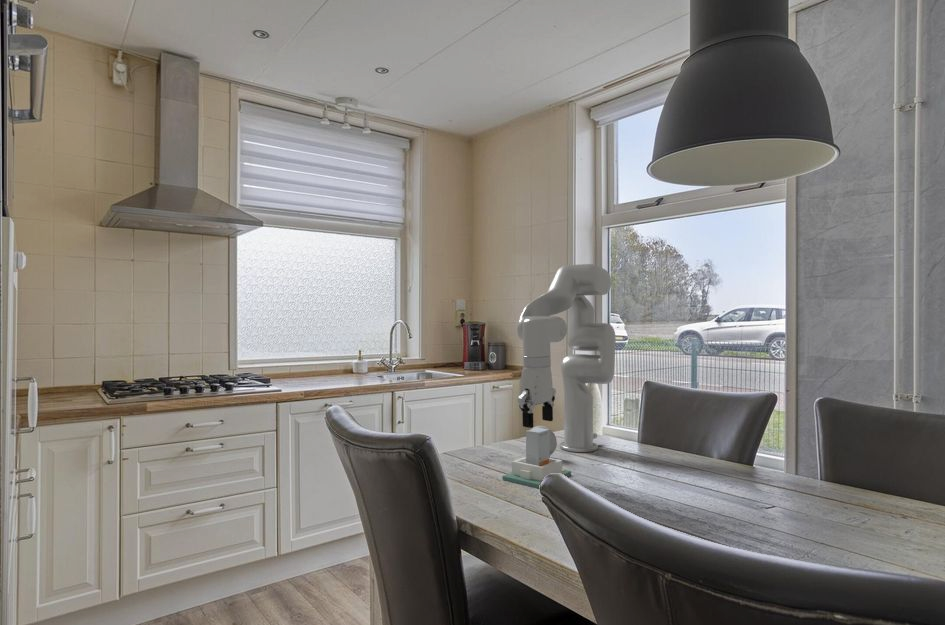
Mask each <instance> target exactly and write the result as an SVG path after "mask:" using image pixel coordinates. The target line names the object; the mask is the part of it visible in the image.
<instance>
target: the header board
mask: <svg viewBox="0 0 945 625" xmlns="http://www.w3.org/2000/svg"><path fill="white" fill-rule="evenodd" d="M550 473H562V474H564V475H565V476H567V477H569V476H571V475H572V470H567V469H564V468H563V459H558V458H553V457H549V464H547V465H544V466H537V465H532V464H527V463H526V456H524V457H521V458H518V459H515V460H512V461H511V472H509V473H507V474H504V475H502V479H503V481H506V480H507V482H510V481H511V483H514V482H515V484H519V485H522V486H527V485H528V487H532V488H535V489H536V488H537V489H540V488H539V485H540V484H541V482H542V481H543V479H544V477H545V476H546V475H548V474H550ZM568 475H569V476H568Z"/></svg>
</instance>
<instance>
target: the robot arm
mask: <svg viewBox="0 0 945 625" xmlns="http://www.w3.org/2000/svg"><path fill="white" fill-rule="evenodd" d="M554 275H555V276H554V277H553V279H552V281H551V283H550V286H549V287H548V290H547V292H545V293H543V294H541V295H540V296H538V297H536V298H534V299H533V300H532V301H531V302H529V303H527V305H526V306H525V307H524V309H523V310H522V313H521V314H520V316H519V319H518V322H517V326H516V332H517V336H518V337H519V339H520V340H521V341H522V355H523V358H522V359H523V362H522V363H523V367H522V370H521V376H520V390H519V396H518V398H517V402H518V405H519V409H520V412H521V413H522V427H523V428H528V429H529V428H530V429H532V428H534V413H533V410H534V407H535V406H537V405H541V406H542V407H541V409H542V410H541V411H542V414H541V416H542V418H541V419H542V420H543V421H547V422H553V421H554V413H553V412H554V410H553V407H554V406H555V404H554V402H555V400H556V398H555V396H556V393H557V390H556V388H554V387H553V376H552V370H551V369H552V368H551V366H552V365H551V364H552V363H551V362H552V359H551V343H560V342H561V341H562V340H564V339H565V337H566V336H567V344H568V346H569V348H570V349H571V350H575V351H579V352H580V351H581V352H583V351H585V352H599V354H585V353H584V354H581V353H580V354H578V353H577V354H576V353H575V354H568V355H566V356H565V357H563V358H562V359H561V360H562V361H561V363H560V369H561V370H560V372H561V376H562V382H563V416H564V417H563V426H564V427H563V428H564V431H563V437H564V438H563V439H564V441H561V442H560V443H559V448H560V449H561V450H563V451H567V452H573V453H574V452H575V453H590V452H594V451H597V450H598V448H599V447H598V444H597V443H595V442H594V439H597V438H598V434H597V433H596V432H594V414H593V413H594V411H593V410H594V409H593V408H594V405H593V404H594V400H593V399H594V398H593V394H592V393H593V392H592V391H591V389H589V387H588V385H587V384H595V385H597V384H599V385H608V384H611V382H612V381H613V380H614V375H615V365H616V364H615V361H616V332H615V331H616V330H615V329H614V327H613V326H612V325H611V324H610V323H607V322H606V323H605V322H595V308H594V306H593V304H592V303H591V302H590V300H589V299H588V298H587V296H605V295H607V294H608V293H609V292H610V290H611V287H612V278H611V274H610V273H609V271H608V270H607V269H605V268H603V267H601V266H599V265H597V264H593V263H586V264H585V263H583V264H566V265H563V266H561V267H559V268H558V269H557V271H556V272H555V274H554ZM567 310H568V312H569V313H568V314H569V315H568V324H567V323H566V321H565V320H564V319H563V318H562V317H560V316H555V315H556V314H561V313H564V312H566V311H567ZM567 325H568V326H567Z"/></svg>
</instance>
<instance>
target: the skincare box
mask: <svg viewBox="0 0 945 625" xmlns="http://www.w3.org/2000/svg"><path fill="white" fill-rule="evenodd" d="M549 429H550V428H549ZM549 429H543V428H535V429H532V428H530V429H529V430H526V431H525V457H526V463H527V464H532V465H537V466H544V465H547V464H549V458H550V456H549V448H550V430H549Z"/></svg>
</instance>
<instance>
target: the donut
mask: <svg viewBox="0 0 945 625" xmlns="http://www.w3.org/2000/svg"><path fill="white" fill-rule="evenodd" d="M535 428H543V429H549V430H550V448H549V457H550V456H552V454H554V453H555V451H556V449H557V446H558V441H557V437H556V435H555V433H554V432H553V431H552V429H551V428H549V427H547V426H544V425H536V426H533V428H531V429H535Z"/></svg>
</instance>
